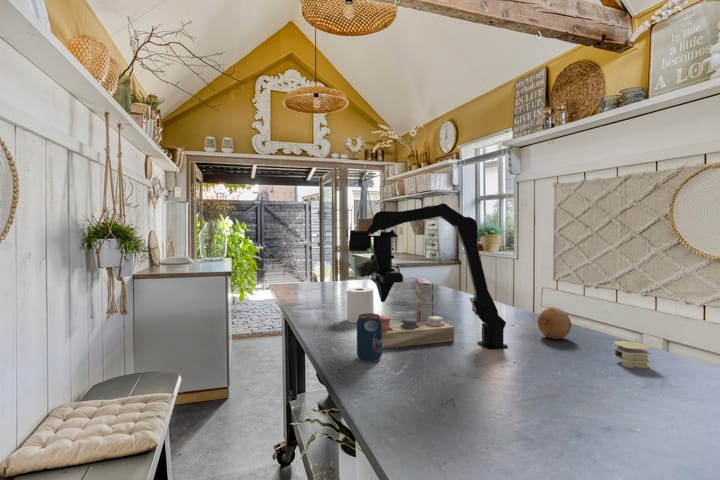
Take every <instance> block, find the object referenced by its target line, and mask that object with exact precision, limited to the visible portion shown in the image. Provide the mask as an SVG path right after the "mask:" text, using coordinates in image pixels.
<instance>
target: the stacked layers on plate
mask: <svg viewBox="0 0 720 480" xmlns="http://www.w3.org/2000/svg"><path fill="white" fill-rule="evenodd" d="M613 343H614V344H616V345H615V346H613V347H612V348H613V349H614V353H613V355H612V356H613V357H615V358H617V359H619V360H620V361H621V366H622V367H624V368H629V369H630V368H631V369H633V368H640V369H641V368H642V369H648V363H650V362H651V361H650V360H648V356H649V355H651V354H650V352H648V349H649V350H650V347H649V346H647V345H646V344H644V343H636V342H630V341H622V340H620V341H619V340H615V341H613ZM646 349H647V350H646Z"/></svg>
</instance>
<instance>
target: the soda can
mask: <svg viewBox="0 0 720 480" xmlns="http://www.w3.org/2000/svg"><path fill="white" fill-rule="evenodd" d="M379 316H380V314H376V313H373V314H361V315H359V318H358V320H357V323H356V356H357V358H359V360H360V361H361V362H363V363H365V362H366V363H374V362H378V361H380V359H381V357H382V356H383V349H382V322H381V320H380V318H379Z"/></svg>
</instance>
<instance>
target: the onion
mask: <svg viewBox="0 0 720 480" xmlns="http://www.w3.org/2000/svg"><path fill="white" fill-rule="evenodd" d="M537 326H538V329H539V331H540V332H541V334H542V335H543V336H544V337H546V338H549V339H554V340H560V339H563V338H565V337H567V336H568V335H569V333H571V332H570V331H571V329H572V321H571V318H570V317H569V315H568V314H567V313H566V312H565V311H564V310H562V309H560V308H558V307H555V306H552V307H548V308H546V309H544V310H543V311H541V313H540V314H539V315H538V319H537Z"/></svg>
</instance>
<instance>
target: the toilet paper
mask: <svg viewBox="0 0 720 480" xmlns="http://www.w3.org/2000/svg"><path fill="white" fill-rule="evenodd" d="M361 314H374V289H373V288H369V287H350V288H348V289H346V321H347V322H348V323H352V324H357V320H358V318H359V315H361Z"/></svg>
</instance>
